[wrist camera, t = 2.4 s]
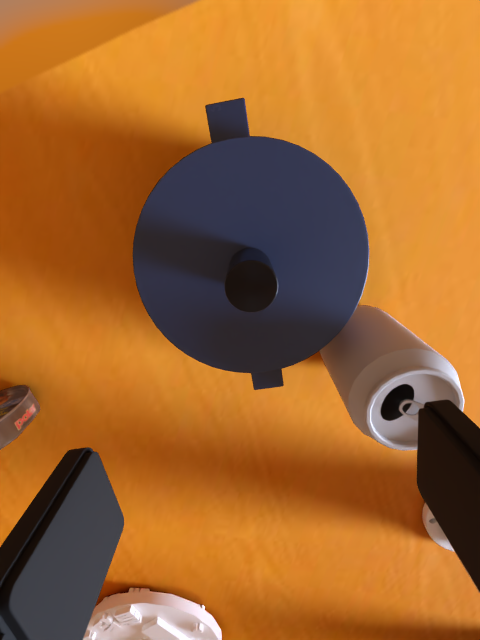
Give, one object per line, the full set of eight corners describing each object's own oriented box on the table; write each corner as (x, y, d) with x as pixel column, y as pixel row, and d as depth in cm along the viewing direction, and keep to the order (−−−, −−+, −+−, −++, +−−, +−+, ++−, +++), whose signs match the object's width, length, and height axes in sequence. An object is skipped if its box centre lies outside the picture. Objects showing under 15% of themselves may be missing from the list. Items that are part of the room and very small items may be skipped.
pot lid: (358, 117, 20) (406, 80, 14) (367, 350, 25) (404, 396, 19) (109, 164, 21) (56, 148, 15) (167, 378, 26) (144, 429, 20)
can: (338, 291, 30) (392, 343, 19) (409, 318, 31) (502, 384, 20) (304, 359, 33) (335, 441, 21) (371, 382, 33) (435, 474, 22)
